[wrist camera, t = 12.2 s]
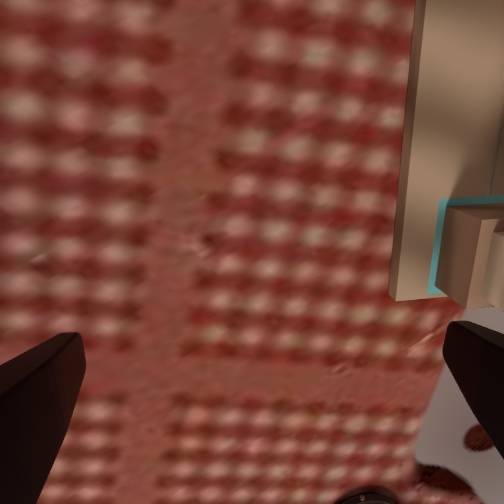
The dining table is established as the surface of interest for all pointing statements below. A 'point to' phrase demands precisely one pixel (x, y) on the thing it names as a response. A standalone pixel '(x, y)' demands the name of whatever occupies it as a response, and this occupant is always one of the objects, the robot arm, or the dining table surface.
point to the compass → (369, 499)
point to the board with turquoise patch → (447, 132)
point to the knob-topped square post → (473, 255)
